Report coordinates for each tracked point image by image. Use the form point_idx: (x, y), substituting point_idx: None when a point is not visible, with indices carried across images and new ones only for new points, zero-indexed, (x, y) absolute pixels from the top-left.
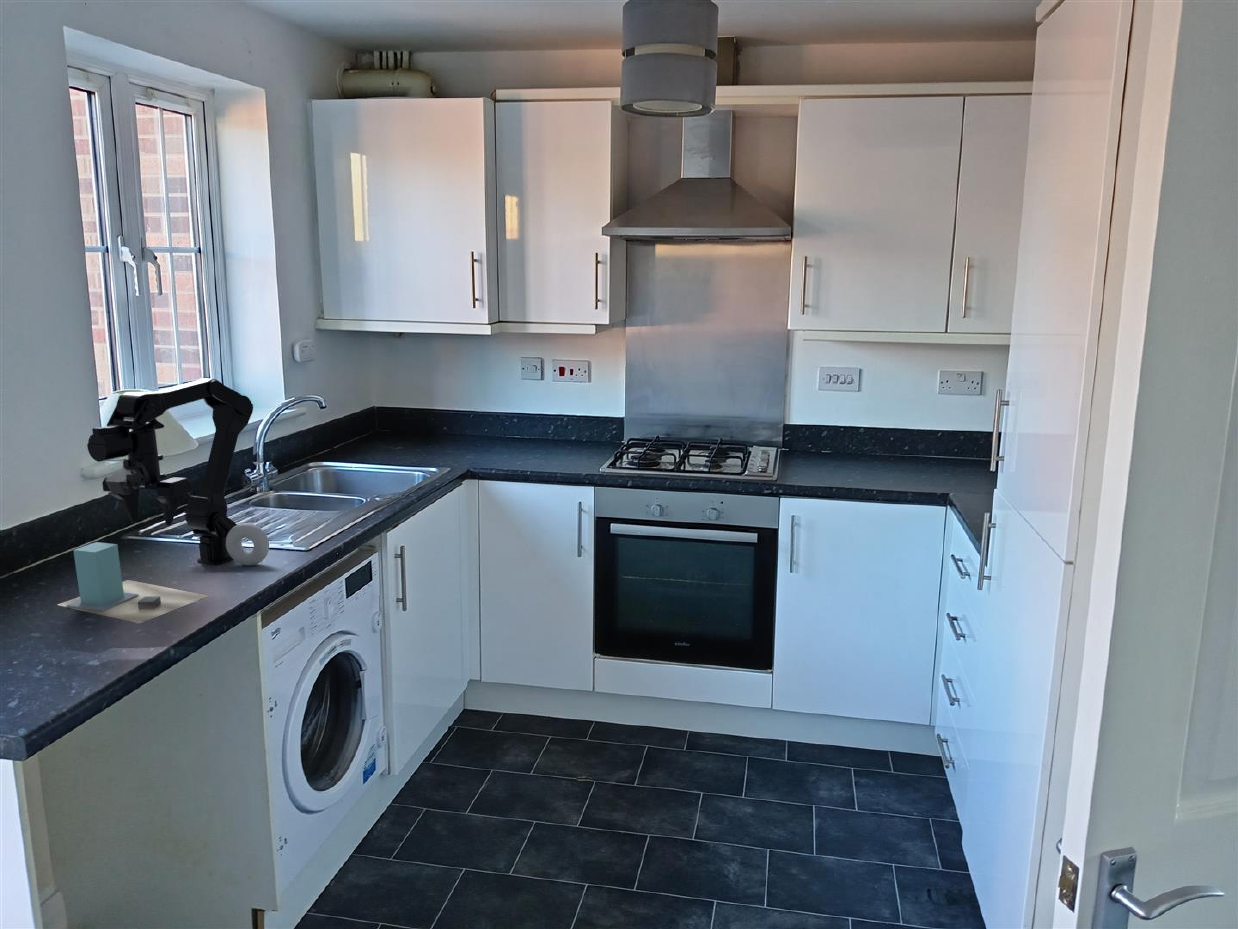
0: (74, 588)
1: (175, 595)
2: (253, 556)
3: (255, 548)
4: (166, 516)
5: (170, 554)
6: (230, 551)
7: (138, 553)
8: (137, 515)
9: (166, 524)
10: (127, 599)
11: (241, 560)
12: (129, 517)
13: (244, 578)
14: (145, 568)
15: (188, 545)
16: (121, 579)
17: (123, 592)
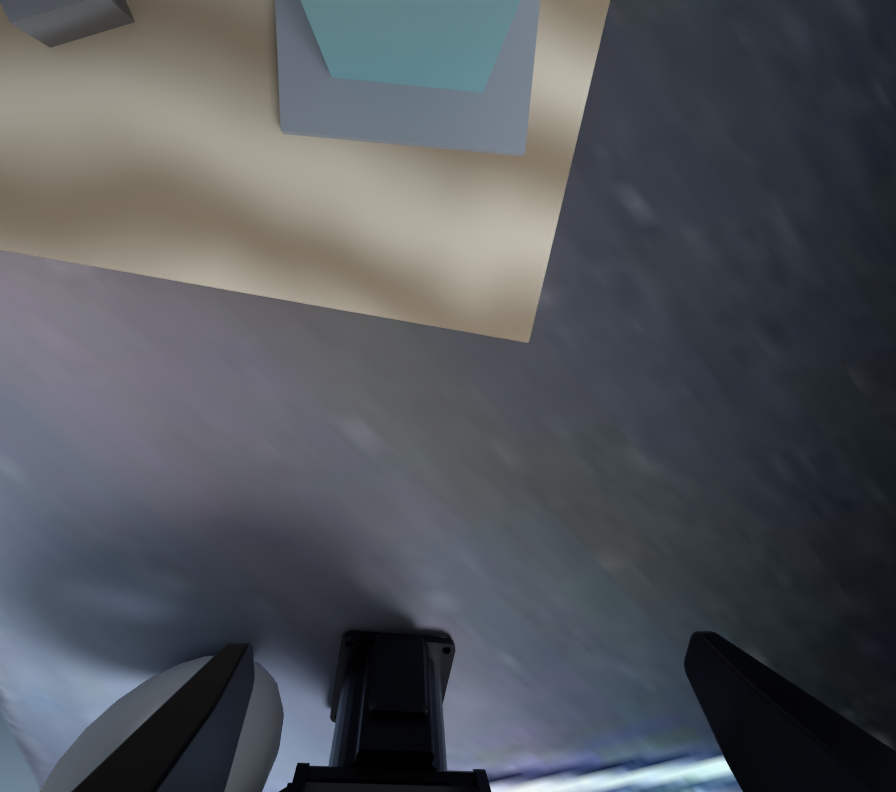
0: (746, 258)
1: (92, 194)
2: (142, 695)
3: (105, 739)
4: (125, 754)
5: (614, 669)
6: None
7: (738, 646)
8: (719, 737)
9: (232, 649)
10: (278, 41)
11: None
12: (769, 669)
13: (100, 546)
14: (605, 533)
15: (612, 749)
16: (306, 12)
17: (327, 65)
